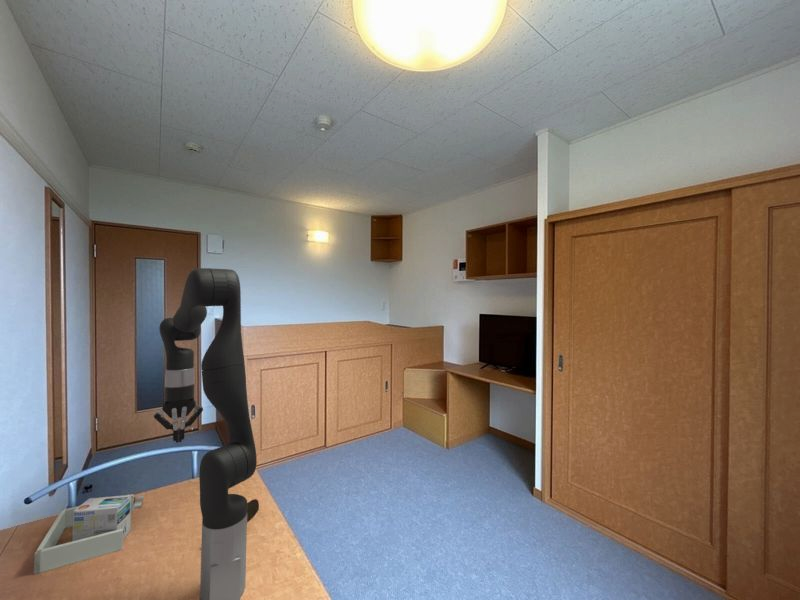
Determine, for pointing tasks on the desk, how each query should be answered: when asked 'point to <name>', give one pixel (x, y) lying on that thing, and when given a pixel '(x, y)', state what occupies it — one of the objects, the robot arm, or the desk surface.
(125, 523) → the light bulb box
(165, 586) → the desk surface
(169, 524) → the desk surface
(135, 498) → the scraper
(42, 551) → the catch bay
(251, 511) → the hand tool
